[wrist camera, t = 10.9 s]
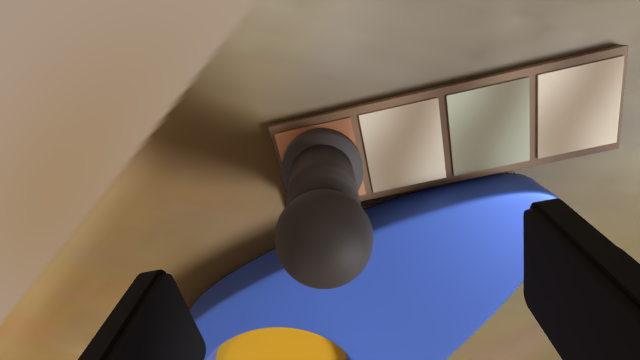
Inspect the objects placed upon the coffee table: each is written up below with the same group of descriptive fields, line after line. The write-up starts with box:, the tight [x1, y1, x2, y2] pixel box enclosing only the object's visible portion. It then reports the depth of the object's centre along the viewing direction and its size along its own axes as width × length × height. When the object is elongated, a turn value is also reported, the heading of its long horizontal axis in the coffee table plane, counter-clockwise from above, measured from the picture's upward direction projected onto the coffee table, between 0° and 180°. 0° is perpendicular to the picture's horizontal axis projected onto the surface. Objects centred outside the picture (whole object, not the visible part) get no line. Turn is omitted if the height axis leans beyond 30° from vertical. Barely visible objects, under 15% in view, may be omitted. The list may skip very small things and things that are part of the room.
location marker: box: [189, 174, 558, 360], centre depth 22 cm, size 13×3×25 cm
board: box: [268, 45, 628, 201], centre depth 19 cm, size 17×5×1 cm, turn 103°
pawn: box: [275, 128, 374, 289], centre depth 15 cm, size 4×4×8 cm
